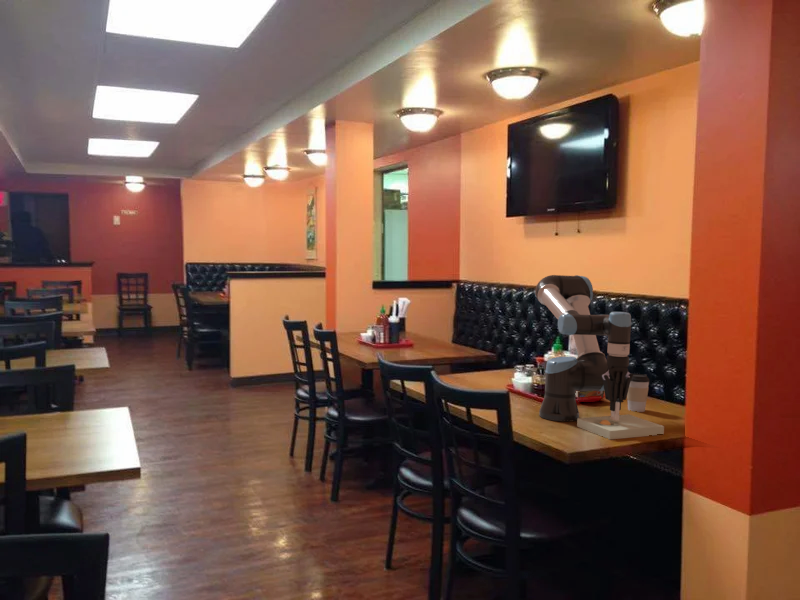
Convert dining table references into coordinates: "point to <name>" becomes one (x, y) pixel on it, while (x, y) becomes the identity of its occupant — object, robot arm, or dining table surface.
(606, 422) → the ball
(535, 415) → the dining table surface
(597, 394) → the tin
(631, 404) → the coffee cup
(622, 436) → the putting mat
